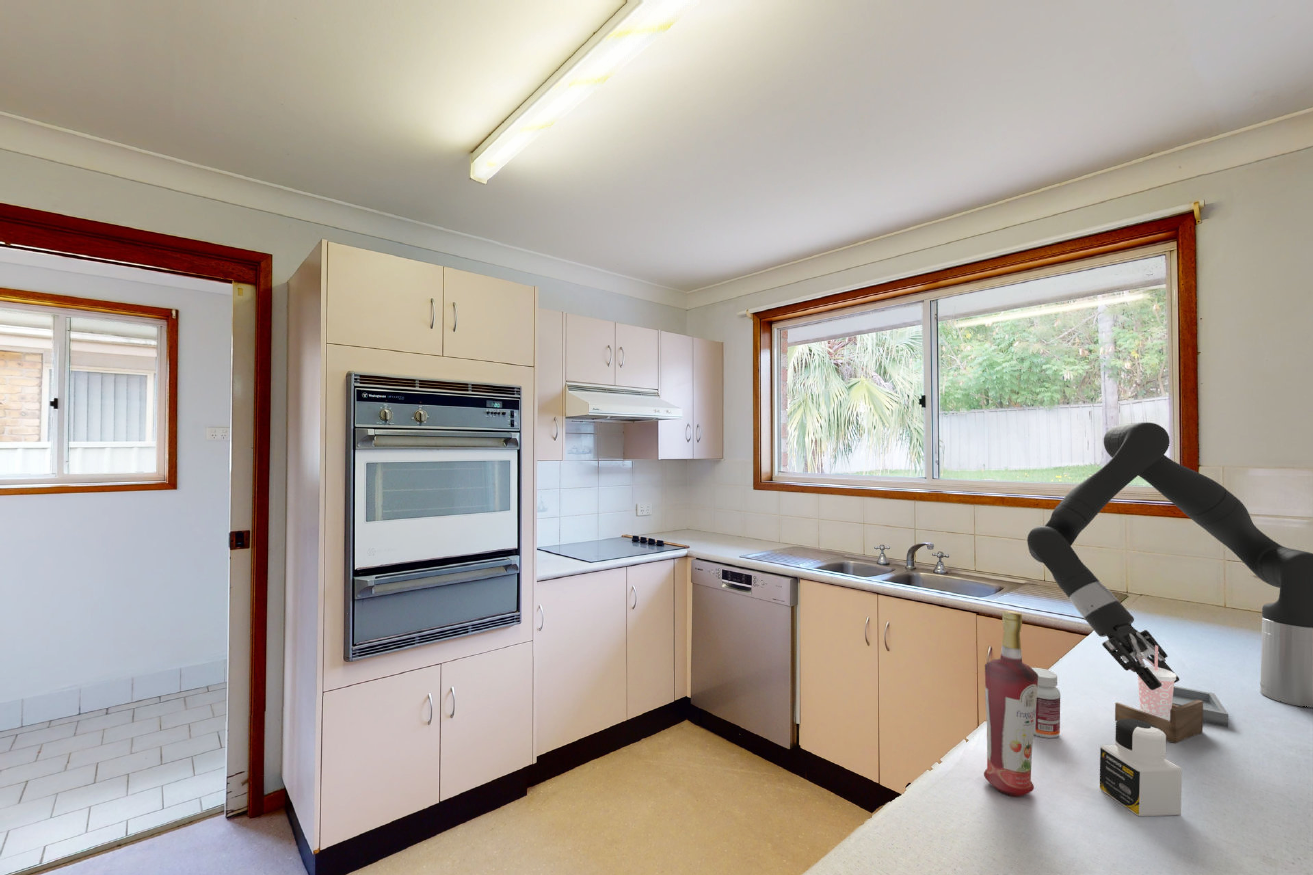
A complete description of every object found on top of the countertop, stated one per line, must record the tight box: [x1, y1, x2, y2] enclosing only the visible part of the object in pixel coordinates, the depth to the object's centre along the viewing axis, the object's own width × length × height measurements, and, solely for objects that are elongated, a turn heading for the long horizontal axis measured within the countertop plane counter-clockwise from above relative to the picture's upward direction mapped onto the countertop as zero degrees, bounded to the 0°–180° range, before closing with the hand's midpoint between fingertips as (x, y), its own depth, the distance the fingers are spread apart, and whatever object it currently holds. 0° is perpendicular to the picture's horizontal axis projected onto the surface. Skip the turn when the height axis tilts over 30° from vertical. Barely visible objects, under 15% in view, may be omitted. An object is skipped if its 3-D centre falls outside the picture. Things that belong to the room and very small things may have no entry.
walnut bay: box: [1114, 700, 1204, 744], centre depth 117 cm, size 10×11×6 cm
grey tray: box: [1172, 685, 1229, 728], centre depth 126 cm, size 12×12×2 cm
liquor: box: [983, 610, 1038, 798], centre depth 94 cm, size 7×7×28 cm
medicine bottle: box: [1099, 719, 1183, 817], centre depth 92 cm, size 7×7×12 cm
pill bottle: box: [1031, 667, 1061, 739], centre depth 114 cm, size 6×6×11 cm
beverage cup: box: [1137, 645, 1177, 721], centre depth 118 cm, size 6×6×14 cm
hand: (1166, 684), depth 116 cm, fingers closed on beverage cup, 6 cm apart
